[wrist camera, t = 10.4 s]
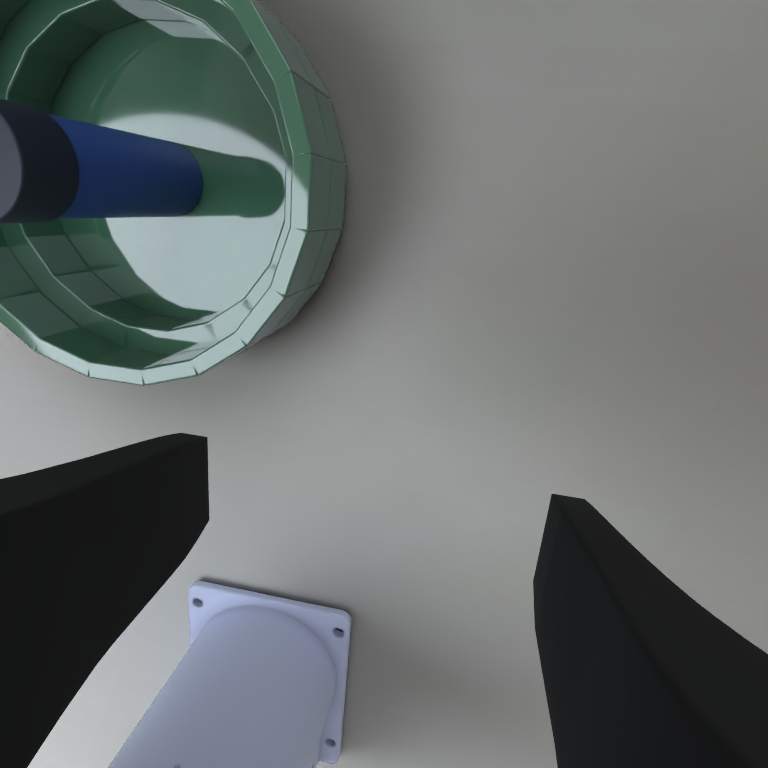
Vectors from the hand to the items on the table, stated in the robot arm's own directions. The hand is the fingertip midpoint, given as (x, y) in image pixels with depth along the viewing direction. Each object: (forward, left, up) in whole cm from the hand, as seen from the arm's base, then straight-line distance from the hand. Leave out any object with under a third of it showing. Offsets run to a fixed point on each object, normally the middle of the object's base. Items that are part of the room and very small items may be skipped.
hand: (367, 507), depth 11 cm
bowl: (+6, +10, -10) cm, 16 cm away
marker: (+6, +10, -10) cm, 15 cm away
